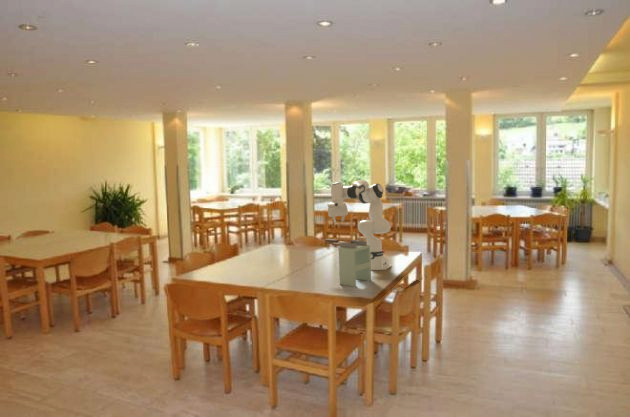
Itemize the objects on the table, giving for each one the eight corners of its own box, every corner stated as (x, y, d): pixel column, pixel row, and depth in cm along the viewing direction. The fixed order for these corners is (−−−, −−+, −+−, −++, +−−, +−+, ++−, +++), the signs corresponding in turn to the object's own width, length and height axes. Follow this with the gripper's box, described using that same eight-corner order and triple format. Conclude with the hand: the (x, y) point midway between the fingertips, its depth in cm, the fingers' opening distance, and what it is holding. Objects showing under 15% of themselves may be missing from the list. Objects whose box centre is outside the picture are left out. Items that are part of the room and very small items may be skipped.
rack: (356, 278, 374) (355, 235, 371) (371, 280, 365) (369, 237, 362) (339, 284, 359) (338, 239, 356) (354, 286, 350) (353, 241, 347)
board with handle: (330, 242, 379) (330, 238, 379) (352, 244, 365) (352, 240, 365) (321, 244, 371) (321, 240, 371) (344, 246, 358) (343, 242, 358)
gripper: (342, 203, 393) (343, 221, 393) (326, 204, 377) (327, 223, 377) (349, 202, 389) (350, 220, 389) (332, 204, 373) (333, 223, 373)
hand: (338, 222), depth 383 cm, fingers open, 8 cm apart
